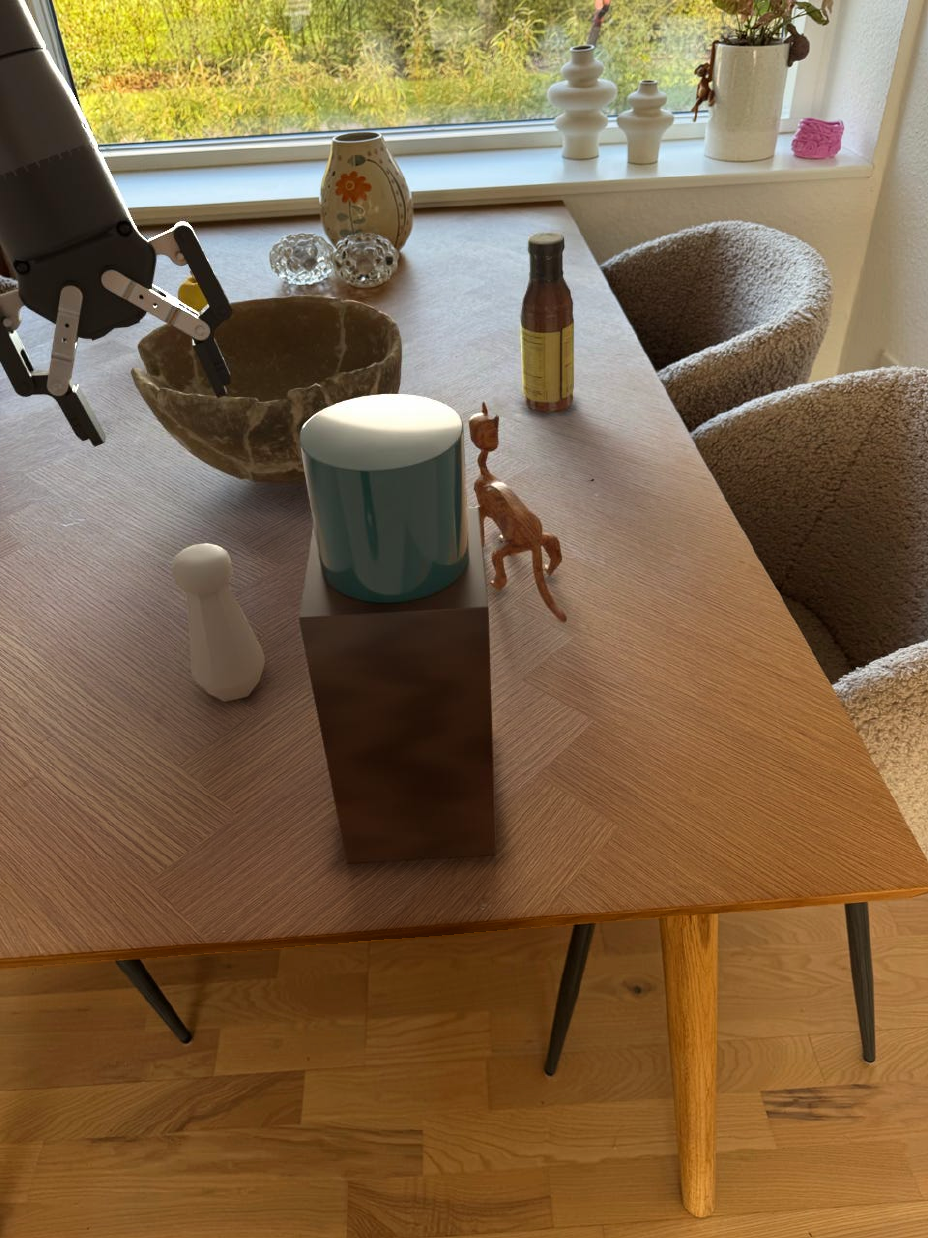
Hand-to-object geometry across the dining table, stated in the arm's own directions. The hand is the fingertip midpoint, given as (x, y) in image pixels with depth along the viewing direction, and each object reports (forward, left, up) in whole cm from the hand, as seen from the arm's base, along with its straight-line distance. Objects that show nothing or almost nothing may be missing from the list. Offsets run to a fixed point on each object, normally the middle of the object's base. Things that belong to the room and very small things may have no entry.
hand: (162, 417), depth 61 cm
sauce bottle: (+57, -3, -24) cm, 62 cm away
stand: (-4, -20, -24) cm, 31 cm away
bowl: (+31, +17, -24) cm, 42 cm away
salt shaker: (0, 0, -24) cm, 24 cm away
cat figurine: (+23, -15, -24) cm, 36 cm away
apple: (+61, +54, -24) cm, 84 cm away
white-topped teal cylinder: (-3, -20, -3) cm, 20 cm away
